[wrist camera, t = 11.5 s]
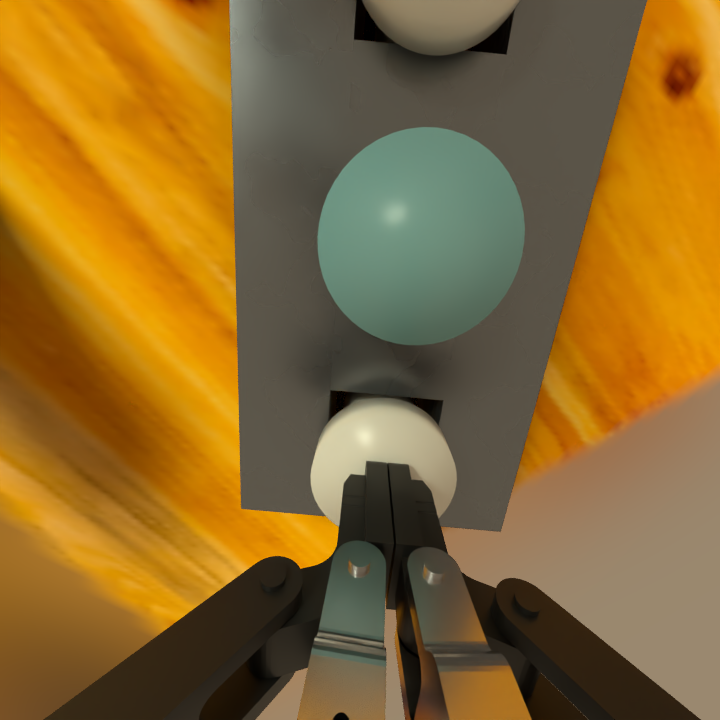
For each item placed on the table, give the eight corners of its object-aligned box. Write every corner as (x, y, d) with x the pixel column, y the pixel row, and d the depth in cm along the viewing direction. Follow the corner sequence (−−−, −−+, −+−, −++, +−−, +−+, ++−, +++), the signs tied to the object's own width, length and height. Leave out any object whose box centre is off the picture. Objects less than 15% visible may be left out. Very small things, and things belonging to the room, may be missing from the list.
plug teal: (342, 171, 14) (323, 116, 8) (472, 184, 14) (549, 137, 8) (333, 303, 15) (312, 336, 9) (450, 313, 15) (499, 353, 9)
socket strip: (275, -100, 13) (222, -301, 8) (588, -68, 13) (715, -248, 8) (270, 448, 20) (241, 508, 16) (470, 466, 21) (500, 531, 16)
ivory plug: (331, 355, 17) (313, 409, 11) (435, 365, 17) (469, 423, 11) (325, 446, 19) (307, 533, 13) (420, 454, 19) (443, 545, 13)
